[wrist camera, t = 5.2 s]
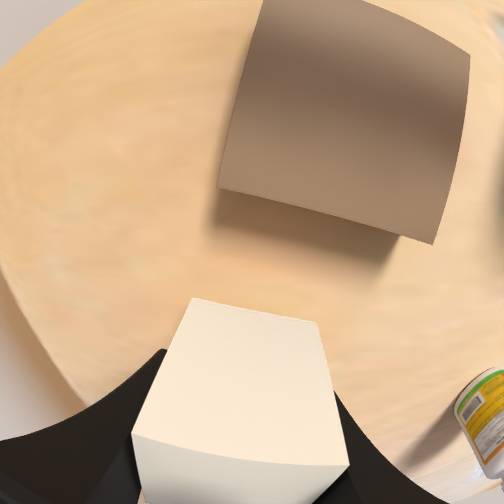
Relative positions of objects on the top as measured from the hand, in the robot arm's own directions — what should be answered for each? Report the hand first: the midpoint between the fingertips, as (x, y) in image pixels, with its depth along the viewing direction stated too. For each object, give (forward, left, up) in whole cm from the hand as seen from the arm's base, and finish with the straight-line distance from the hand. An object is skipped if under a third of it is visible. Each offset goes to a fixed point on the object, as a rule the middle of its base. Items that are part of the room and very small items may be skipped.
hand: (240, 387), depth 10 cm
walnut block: (+10, -2, -5) cm, 11 cm away
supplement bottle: (-4, -19, -5) cm, 20 cm away
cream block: (0, 0, -2) cm, 2 cm away
